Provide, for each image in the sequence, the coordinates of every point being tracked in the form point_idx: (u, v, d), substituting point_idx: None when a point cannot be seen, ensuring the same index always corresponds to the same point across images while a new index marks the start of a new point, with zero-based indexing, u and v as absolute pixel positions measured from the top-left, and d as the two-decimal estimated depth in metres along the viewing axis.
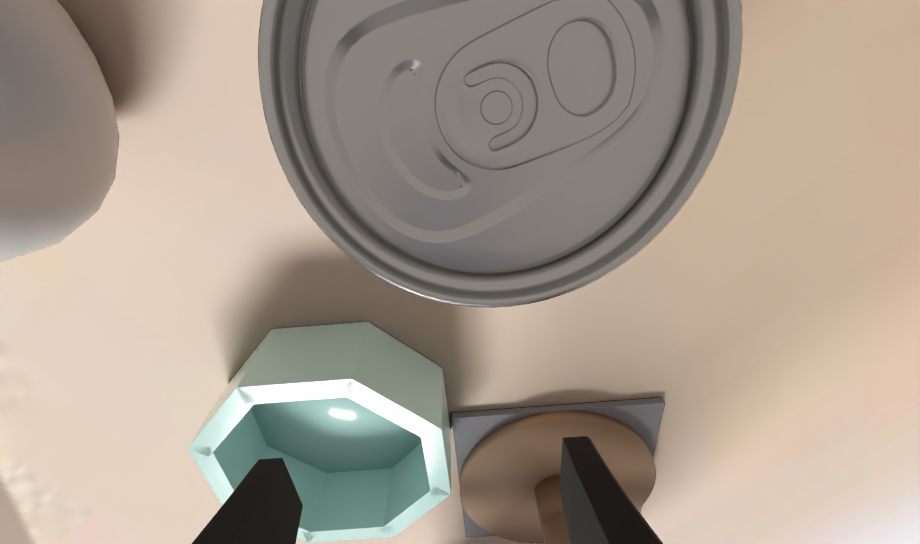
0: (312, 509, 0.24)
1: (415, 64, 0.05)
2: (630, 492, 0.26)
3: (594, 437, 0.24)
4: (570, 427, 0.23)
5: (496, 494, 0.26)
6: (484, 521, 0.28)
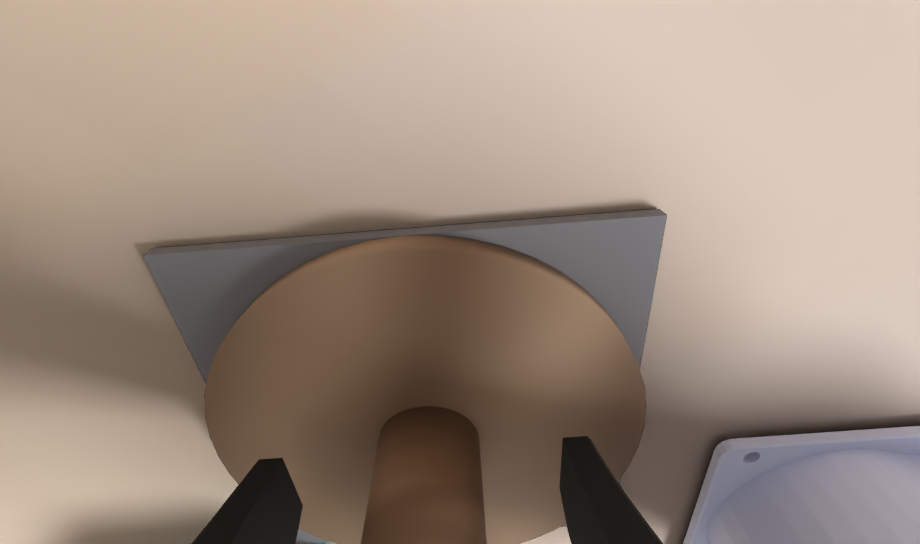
0: None
1: None
2: (445, 302, 0.10)
3: (249, 404, 0.11)
4: (230, 442, 0.12)
5: None
6: (529, 529, 0.14)
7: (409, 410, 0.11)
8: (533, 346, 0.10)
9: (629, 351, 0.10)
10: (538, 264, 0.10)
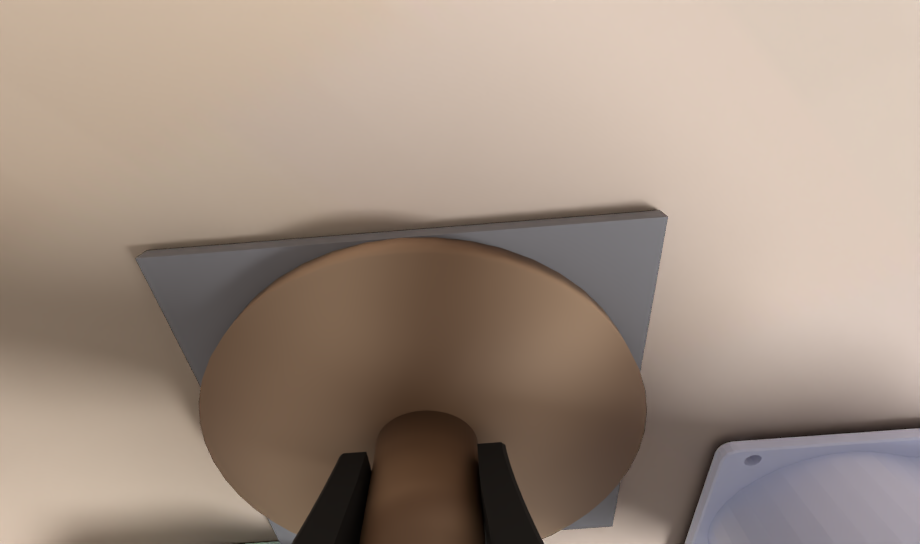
0: None
1: None
2: (444, 305, 0.09)
3: (245, 408, 0.11)
4: (225, 447, 0.12)
5: None
6: None
7: (407, 414, 0.11)
8: (533, 350, 0.10)
9: (630, 354, 0.10)
10: (537, 267, 0.10)
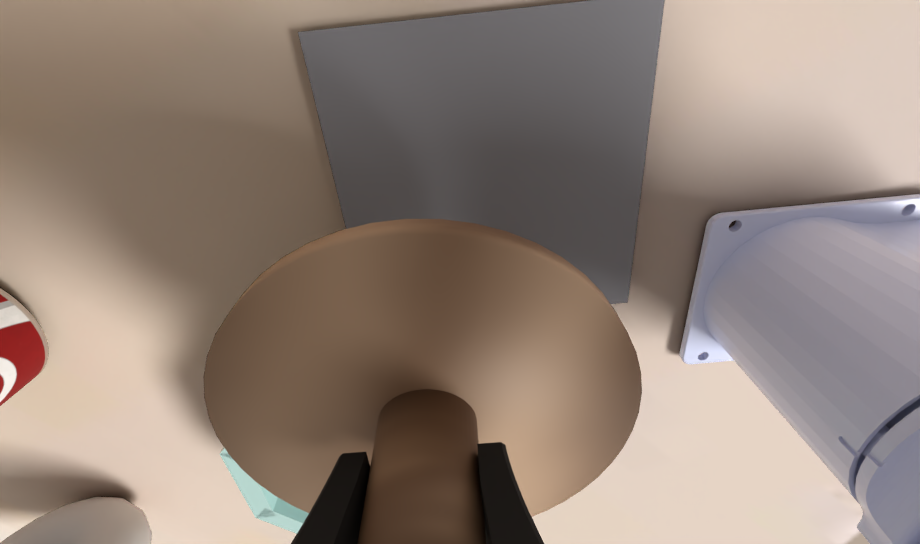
0: None
1: None
2: (448, 286, 0.10)
3: (249, 384, 0.11)
4: (228, 422, 0.12)
5: None
6: None
7: (409, 393, 0.11)
8: (533, 331, 0.10)
9: (628, 338, 0.11)
10: (541, 250, 0.10)
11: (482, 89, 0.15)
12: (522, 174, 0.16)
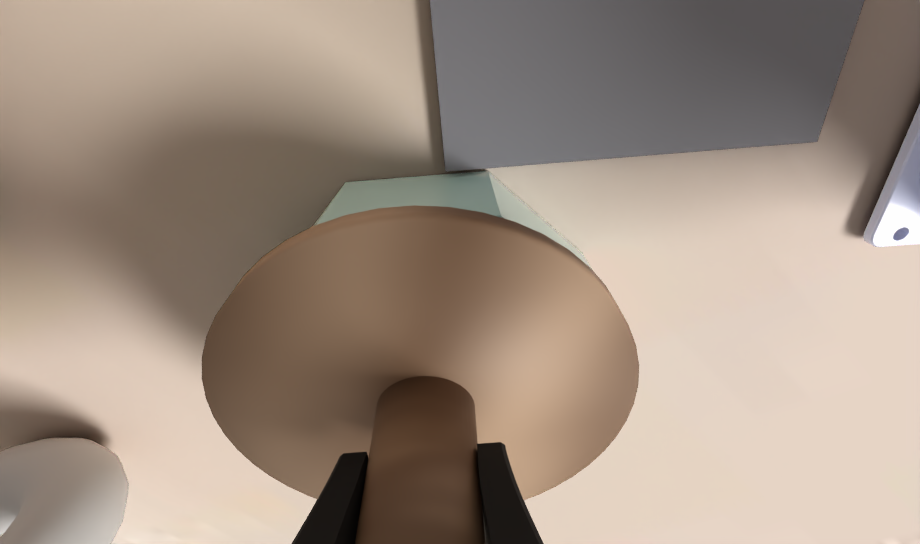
0: None
1: None
2: (454, 275, 0.10)
3: (248, 367, 0.11)
4: (226, 404, 0.12)
5: None
6: None
7: (409, 379, 0.11)
8: (536, 322, 0.10)
9: (629, 331, 0.11)
10: (548, 242, 0.10)
11: None
12: None
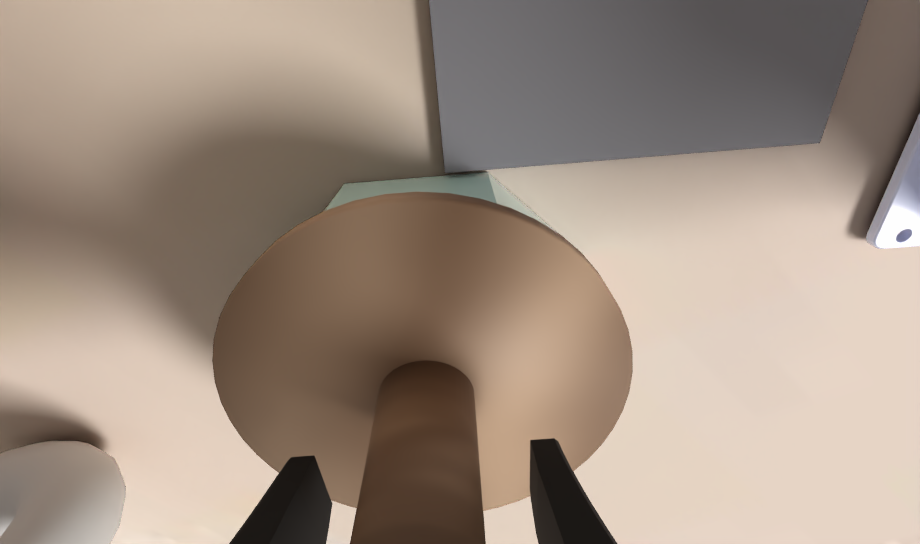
0: None
1: None
2: (454, 256, 0.10)
3: (257, 349, 0.11)
4: (234, 388, 0.12)
5: None
6: (515, 491, 0.15)
7: (410, 363, 0.12)
8: (533, 304, 0.11)
9: (621, 315, 0.11)
10: (542, 226, 0.10)
11: None
12: None
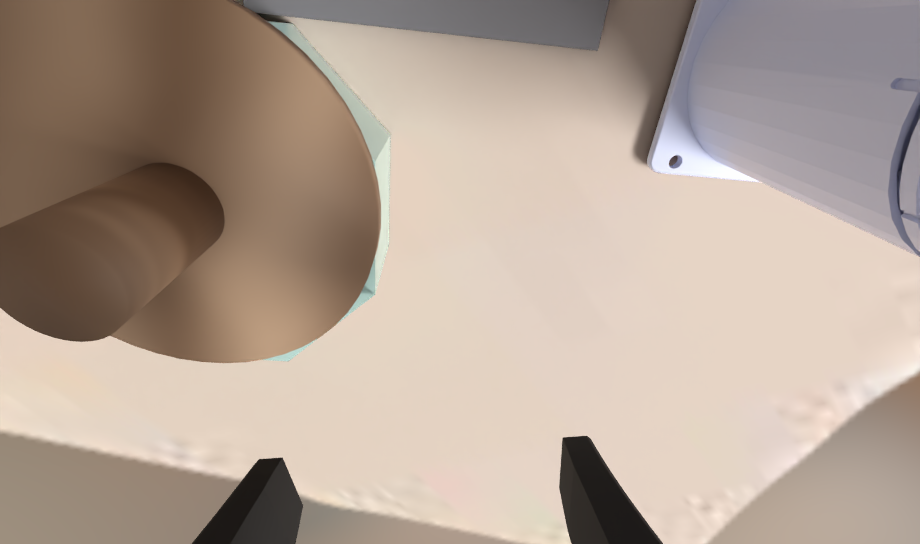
0: None
1: None
2: (183, 41, 0.11)
3: None
4: None
5: (195, 312, 0.14)
6: (280, 341, 0.15)
7: (152, 163, 0.12)
8: (269, 115, 0.11)
9: (357, 143, 0.12)
10: (278, 33, 0.11)
11: None
12: None
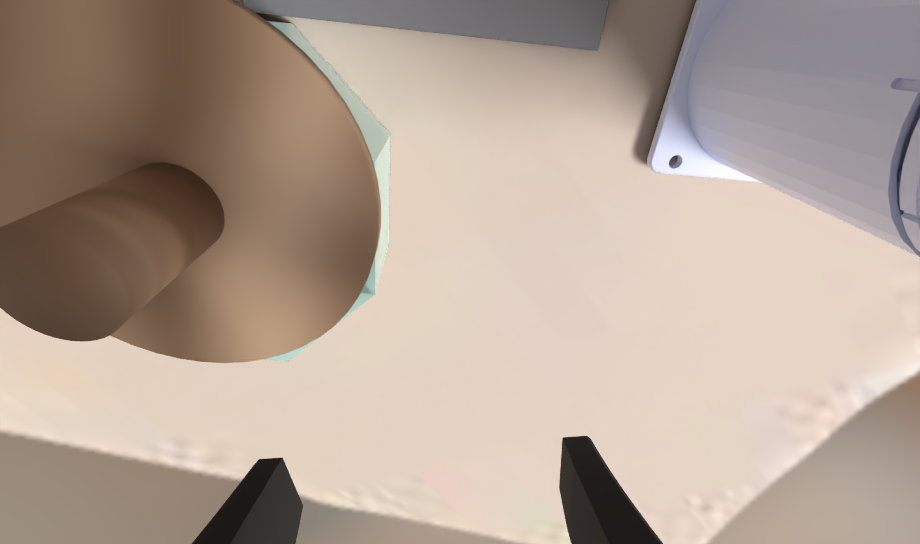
0: None
1: None
2: (183, 41, 0.11)
3: None
4: None
5: (195, 312, 0.14)
6: (280, 341, 0.15)
7: (152, 163, 0.12)
8: (269, 114, 0.11)
9: (357, 142, 0.12)
10: (278, 32, 0.11)
11: None
12: None
